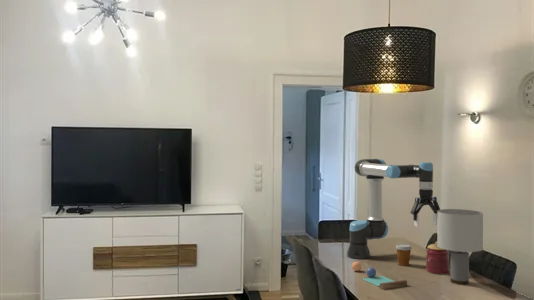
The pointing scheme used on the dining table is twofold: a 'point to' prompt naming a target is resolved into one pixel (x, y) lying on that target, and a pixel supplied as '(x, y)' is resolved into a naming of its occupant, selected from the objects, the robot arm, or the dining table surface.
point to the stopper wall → (393, 284)
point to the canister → (437, 259)
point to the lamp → (460, 239)
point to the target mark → (378, 280)
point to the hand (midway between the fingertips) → (425, 225)
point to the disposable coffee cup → (403, 254)
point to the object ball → (371, 272)
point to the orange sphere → (356, 266)
